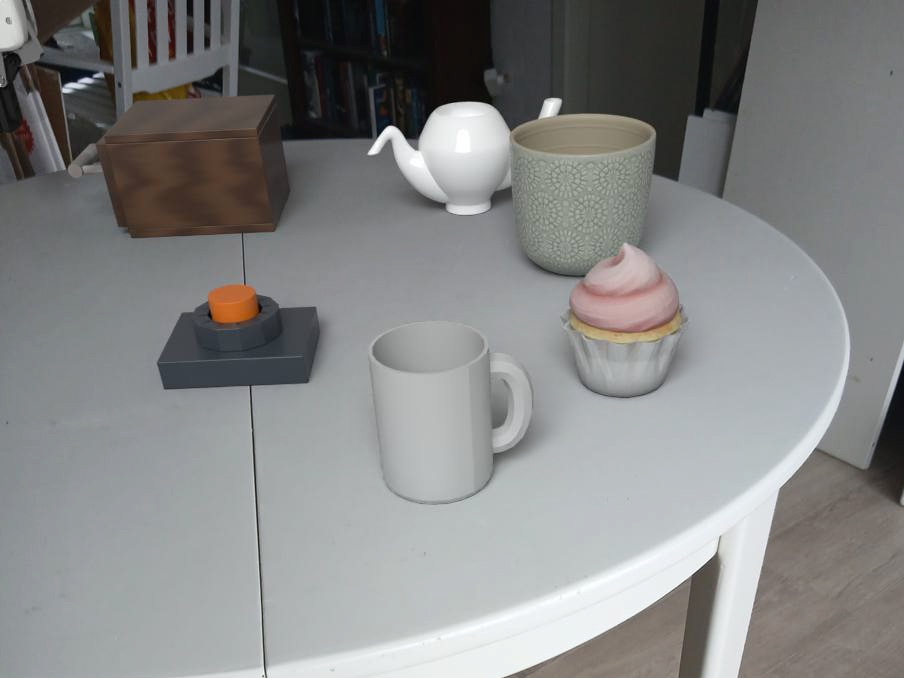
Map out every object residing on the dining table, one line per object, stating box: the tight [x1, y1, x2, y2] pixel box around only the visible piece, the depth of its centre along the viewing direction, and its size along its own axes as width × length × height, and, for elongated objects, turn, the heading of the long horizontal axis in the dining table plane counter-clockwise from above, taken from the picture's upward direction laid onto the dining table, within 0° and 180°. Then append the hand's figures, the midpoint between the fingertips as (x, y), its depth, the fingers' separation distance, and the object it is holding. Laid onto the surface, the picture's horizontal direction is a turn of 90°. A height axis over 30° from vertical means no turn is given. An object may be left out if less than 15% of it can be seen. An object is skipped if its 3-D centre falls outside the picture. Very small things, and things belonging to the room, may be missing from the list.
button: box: [207, 284, 259, 323], centre depth 75 cm, size 4×4×2 cm
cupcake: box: [558, 243, 692, 398], centre depth 70 cm, size 9×9×10 cm
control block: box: [156, 293, 321, 390], centre depth 77 cm, size 11×9×4 cm
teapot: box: [366, 97, 563, 216], centre depth 99 cm, size 10×20×9 cm, turn 105°
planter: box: [509, 113, 657, 277], centre depth 87 cm, size 12×12×11 cm
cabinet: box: [103, 94, 291, 239], centre depth 101 cm, size 15×13×10 cm
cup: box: [367, 320, 534, 505], centre depth 61 cm, size 7×10×9 cm
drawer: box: [67, 135, 128, 228], centre depth 101 cm, size 18×11×8 cm, turn 91°
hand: (8, 129), depth 98 cm, fingers closed
